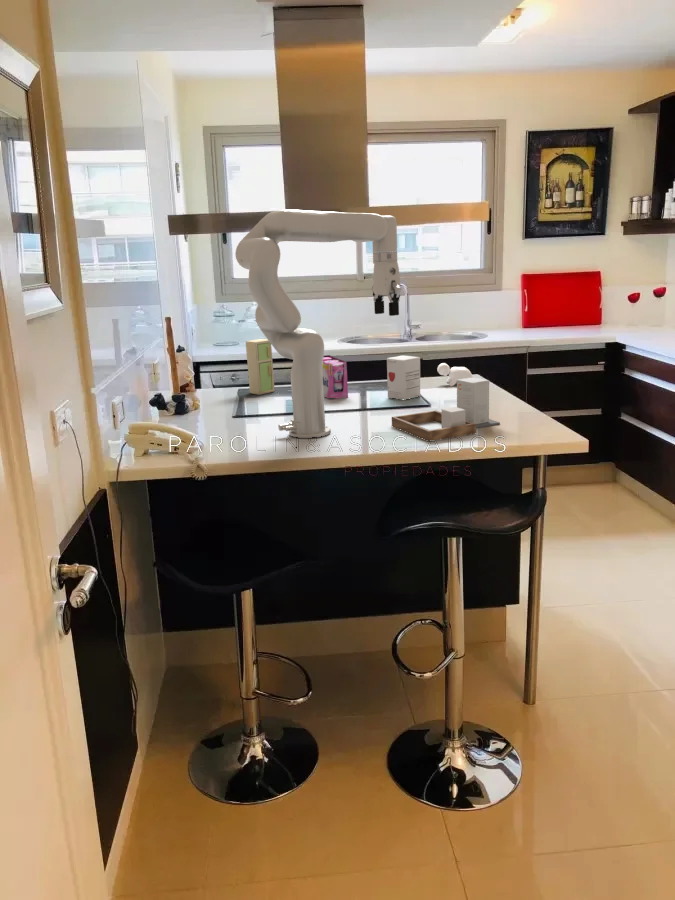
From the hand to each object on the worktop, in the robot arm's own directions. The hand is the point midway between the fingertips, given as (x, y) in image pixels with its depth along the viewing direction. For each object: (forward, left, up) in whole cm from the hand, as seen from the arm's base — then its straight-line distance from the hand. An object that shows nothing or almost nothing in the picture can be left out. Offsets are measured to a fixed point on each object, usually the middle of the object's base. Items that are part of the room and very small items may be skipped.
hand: (386, 314), depth 220 cm
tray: (+3, -22, -33) cm, 40 cm away
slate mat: (+18, -22, -33) cm, 44 cm away
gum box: (+1, +51, -34) cm, 61 cm away
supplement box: (+20, +26, -34) cm, 47 cm away
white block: (+6, -28, -33) cm, 44 cm away
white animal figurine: (+50, +37, -34) cm, 71 cm away
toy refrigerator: (-21, +69, -34) cm, 80 cm away
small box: (+18, -22, -33) cm, 43 cm away
